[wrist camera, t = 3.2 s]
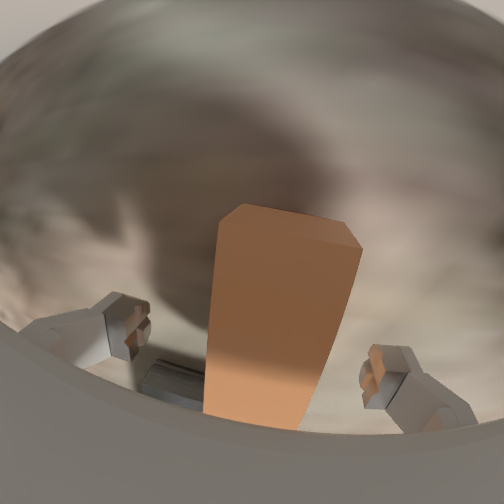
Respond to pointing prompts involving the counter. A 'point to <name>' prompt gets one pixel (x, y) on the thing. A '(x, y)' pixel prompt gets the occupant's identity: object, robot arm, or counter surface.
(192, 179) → the counter surface
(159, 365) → the grey slotted plate
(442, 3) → the counter surface
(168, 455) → the robot arm
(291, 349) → the tall tan wood block
